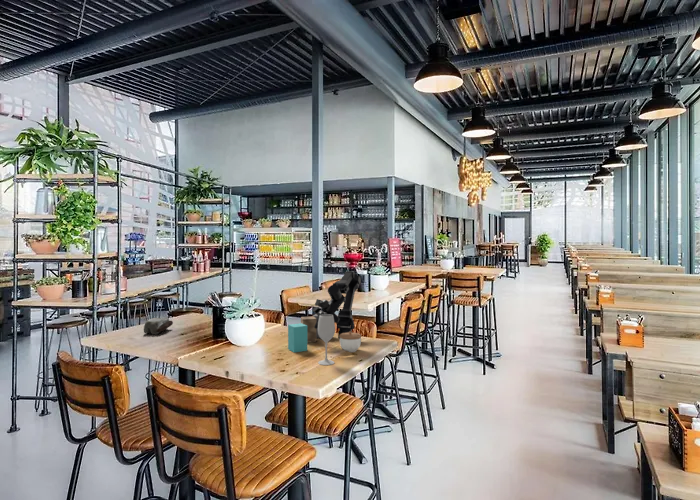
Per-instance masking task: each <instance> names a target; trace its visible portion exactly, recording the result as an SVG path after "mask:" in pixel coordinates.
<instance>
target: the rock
mask: <svg viewBox="0 0 700 500" xmlns="http://www.w3.org/2000/svg"><path fill="white" fill-rule="evenodd" d="M173 324H174V322H173V320H170V318H169V317H167V316H166V317H164V318H161V317H153V318H150V319H148V320H146V321H145V322H144V325H143V334H149V333H150V334H152V335H157V334H159V333H161V332H163V331H165V330H168V329H169V328H170V327H171V326H173ZM156 333H157V334H156Z"/></svg>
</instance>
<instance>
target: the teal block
mask: <svg viewBox="0 0 700 500" xmlns="http://www.w3.org/2000/svg"><path fill="white" fill-rule="evenodd" d="M287 341H288V342H287V349H288V350H289V351H291V352H293V353H301V352H308V342H307V325H304V324H302V323H301V322H299V323H291V324H287Z"/></svg>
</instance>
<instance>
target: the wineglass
mask: <svg viewBox="0 0 700 500" xmlns="http://www.w3.org/2000/svg"><path fill="white" fill-rule="evenodd" d="M335 324H336V323H334V317H333V315H331V314H322V315H320V316H319V321H318V335H319V337H320V338H319V339H321V340H322V341H323V342H324V343H325V345H324V346H325V347H324V348H325V349H324V350H325V357H324V359H323V360H319V361H317V363H318V365H320V366H332V365H334V364H335V361H333V360H331V359H329V358H328V342H330V340H331V339H333V338H334V336H335V333H336V325H335Z"/></svg>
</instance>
